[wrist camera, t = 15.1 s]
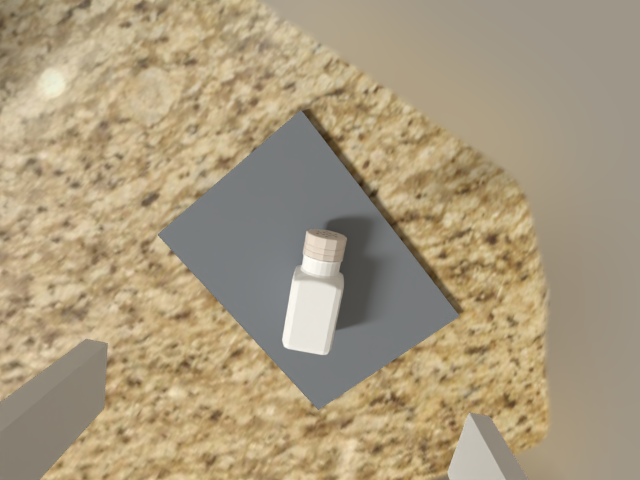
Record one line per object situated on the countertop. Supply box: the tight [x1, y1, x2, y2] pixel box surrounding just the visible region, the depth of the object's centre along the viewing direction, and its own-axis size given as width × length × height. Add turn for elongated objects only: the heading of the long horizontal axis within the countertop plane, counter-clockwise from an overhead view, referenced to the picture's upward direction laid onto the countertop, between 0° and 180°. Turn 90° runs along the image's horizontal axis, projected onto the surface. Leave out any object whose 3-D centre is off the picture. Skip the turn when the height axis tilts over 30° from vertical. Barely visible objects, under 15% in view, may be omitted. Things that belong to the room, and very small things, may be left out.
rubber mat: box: [158, 110, 459, 410], centre depth 29 cm, size 22×16×1 cm
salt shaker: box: [282, 229, 347, 355], centre depth 27 cm, size 4×4×10 cm
